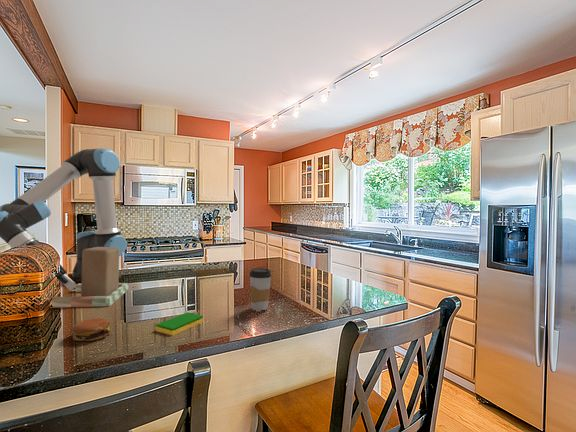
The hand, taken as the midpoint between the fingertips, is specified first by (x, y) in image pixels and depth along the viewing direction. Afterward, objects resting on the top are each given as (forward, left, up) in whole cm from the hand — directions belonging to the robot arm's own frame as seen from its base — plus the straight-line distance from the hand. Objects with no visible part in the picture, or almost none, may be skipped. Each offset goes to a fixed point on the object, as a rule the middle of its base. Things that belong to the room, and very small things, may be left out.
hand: (74, 288), depth 129 cm
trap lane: (0, +7, -4) cm, 8 cm away
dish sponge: (+35, +45, -5) cm, 57 cm away
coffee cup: (+20, +72, -4) cm, 75 cm away
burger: (+41, +21, -4) cm, 46 cm away
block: (0, +10, -4) cm, 11 cm away
